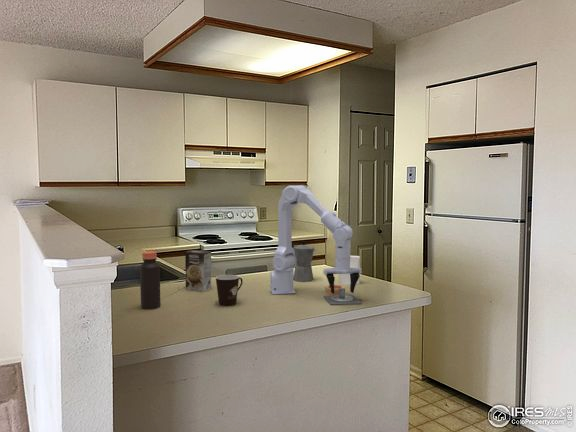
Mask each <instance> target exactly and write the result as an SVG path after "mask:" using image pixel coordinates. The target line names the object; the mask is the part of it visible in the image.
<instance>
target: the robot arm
mask: <svg viewBox="0 0 576 432" xmlns="http://www.w3.org/2000/svg"><path fill="white" fill-rule="evenodd" d="M281 191H282V192H281V197H280V198H279V201H278V205H277V208H278V209H277V211H278V212H277V214H278V215H277V219H278V221H277V225H278V226H277V229H278V230H277V235H278V236H277V241H278V243H277V245H278V246H277V248H276V250H275V251H274V256H273V259H272V263H271V264H272V266H273V268H274V270H271V271H270V277H269V278H270V280H269V281H270V284H269V290H270V292H271V294H272V295H281V294H282V295H283V294H285V295H286V294H296V291H295V289H294V279H293V278H294V270H295V268H294V267H295V266H296V257H295V254H294V249H293V248H292V243H293V241H292V240H293V238H292V235H293V233H292V232H293V231H292V229H293V228H292V223H293V222H292V221H293V218H292V217H293V216H292V212H293V208H294V207H295V206H296V205H297V204H298V203H300V204H306V205H307V206H308V207H309V208H310V209H312V211H314V212H315V213H316V214H317V216H319V217H320V223H322V224H323V225H324V226H325V228H327V229H328V230H329V231H330V233H331V234H332V237H333V239H334V241H335V242H334V243H335V244H334V245H335V250H334V251H335V257H334V267H330V268H329V267H328V268H323V270H322V271H323V273H322V274H323V275H324V276H325V277H326V279H327V282H328V285H330V289H331V293H332V294H334V285H335V278H336V277H335V275H339V274H350V281H351V284H350V285H349V286H350V287H349V289H350V290H349V291H350V293H351V294H354V293H355V288H356V286H357V285H356V283H357V281H358V279H359V277H360V276H361V274H363V271H362V270H363V269H362V268H361V267H360V268H350V256H351V249H352V248H351V247H352V246H351V245H352V244H351V242H352V241H351V239H352V237H353V236H354V230H353V228H352V227H351V226H350V225H349V224H346V223H345V222H344V221H342V220H341V219H340V218H339V217H338V216H337V215H338V214H337V213H336V212H333V211H332V210H331V211H329V210H327V208H325V207H324V206H323V205H322V204H321V203H320V201H319V200H318V199H317V197H315V195H313V194H312V191H311V190H310V189H308V188H307V187H306V185H304V184H300V185H292V184H291V185H287V186H286V187H284V189H282V190H281ZM359 274H360V275H359Z"/></svg>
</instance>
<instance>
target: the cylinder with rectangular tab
mask: <svg viewBox="0 0 576 432" xmlns="http://www.w3.org/2000/svg"><path fill="white" fill-rule="evenodd" d="M350 268H361V256H360V255H350ZM359 275H360V276H361V274H359ZM338 276H339V277H338V278H339V281H338V282H339V284H341V285H344V284H345V285H344V286H350V284H351V281H350V274H338ZM360 280H361V278H360V277H359V279H358V281H357V283H356V284H357V285H359V284H360V283H361V281H360Z"/></svg>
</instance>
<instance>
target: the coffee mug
mask: <svg viewBox="0 0 576 432" xmlns="http://www.w3.org/2000/svg"><path fill="white" fill-rule="evenodd" d="M215 281H216V282H215V283H216V290H217V298H218V299H217V300H218V305H219V306H223V307H232V306H235V305H237V300H238V293H239V292H238V291H239V290H240V289H241V287H242V285H243V278H242V277H240V276H239V275H236V274H222V275H217V276H215ZM239 281H240V282H239ZM239 283H240V285H239Z"/></svg>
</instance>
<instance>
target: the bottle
mask: <svg viewBox="0 0 576 432" xmlns="http://www.w3.org/2000/svg"><path fill="white" fill-rule="evenodd" d="M157 252H158V251H154V250H153V251H151V250H148V251H143V252H142V255H141V257H142V261H143V262H142V264H141V265H140V267H139V278H140V279H139V281H140V286H139V287H140V308H141V309H142V310H155V309H159V308H160V307H161V304H162V303H161V271H160V270H161V268H160V266H161V265H160V264H159V263H158V262H157V257H158V255H157Z"/></svg>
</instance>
